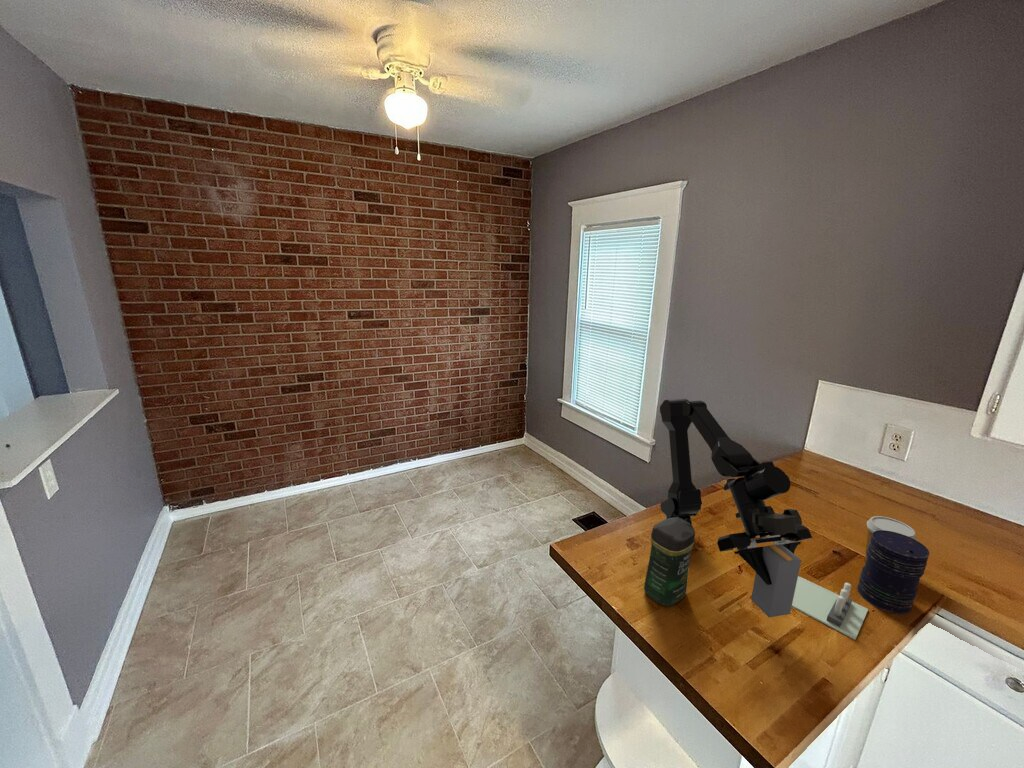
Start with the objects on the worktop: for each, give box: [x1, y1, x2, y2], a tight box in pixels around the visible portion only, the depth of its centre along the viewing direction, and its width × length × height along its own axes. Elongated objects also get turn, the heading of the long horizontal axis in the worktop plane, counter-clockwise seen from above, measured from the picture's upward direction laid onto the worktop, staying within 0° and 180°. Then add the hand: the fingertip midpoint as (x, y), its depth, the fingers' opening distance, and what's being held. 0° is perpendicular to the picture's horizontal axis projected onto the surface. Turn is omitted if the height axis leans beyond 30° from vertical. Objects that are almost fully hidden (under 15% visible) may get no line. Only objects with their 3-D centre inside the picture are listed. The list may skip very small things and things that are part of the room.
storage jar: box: [857, 530, 930, 615], centre depth 96 cm, size 10×10×15 cm
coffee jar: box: [643, 517, 696, 607], centre depth 96 cm, size 10×8×19 cm
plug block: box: [750, 544, 802, 618], centre depth 86 cm, size 5×5×13 cm
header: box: [791, 575, 869, 641], centre depth 96 cm, size 16×12×6 cm
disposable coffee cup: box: [864, 515, 918, 564], centre depth 107 cm, size 10×10×12 cm
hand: (780, 582), depth 85 cm, fingers closed on plug block, 5 cm apart
